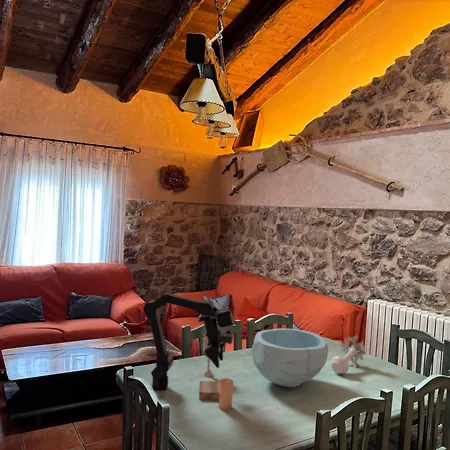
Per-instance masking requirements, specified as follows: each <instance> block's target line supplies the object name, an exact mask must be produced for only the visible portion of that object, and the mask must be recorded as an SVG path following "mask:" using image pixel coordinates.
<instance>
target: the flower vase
mask: <svg viewBox="0 0 450 450" xmlns="http://www.w3.org/2000/svg"><path fill="white" fill-rule="evenodd" d="M358 338H359V336H358V335H357V334H356V335H354V336H353V337H351V336H348V337H347V338H344V341H343V342H344V343H341V344H340V347H341V348H343V349H342V350H341V352H342V353H345V355H343V356H341V355H335V356H333V358H332V359H331V361H330V364H331V369H332V371H333V372H334V373H335V374H339V375H344V374H347V372H348V371H349V368H350V366H351V367H353V368H354V369H357V368H358V367H359V368H363V366H362V365H361V364H360V363H359V362H358V360H360V361H364V356H363V355H367V352H366V351H365V350H366V346H365V345H364V340H361V342H358V343H356V340H357V339H358ZM351 342H352V344H351V345H350V343H351ZM349 361H350V362H349Z"/></svg>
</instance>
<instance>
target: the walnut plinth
mask: <svg viewBox="0 0 450 450" xmlns="http://www.w3.org/2000/svg"><path fill="white" fill-rule="evenodd" d="M198 389H199V391H198V400H213V401H214V400H217V401H219V391H220V381H217V380H215V381H213V380H212V381H209V380H200V381H199V387H198Z"/></svg>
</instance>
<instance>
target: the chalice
mask: <svg viewBox="0 0 450 450" xmlns="http://www.w3.org/2000/svg"><path fill="white" fill-rule="evenodd" d="M201 339H202V351H203V353H204V355H205V352H204V351H205V350H206V348H207V346H208V344H207V343H208V339H207V336H204V337H202V338H201ZM209 346H211V345H209ZM205 357H206V358H207V361H206V367H207V368H206V369H204V372H203V374H202V376H203V377H205V378H206V377H207V378H211V377H213V376H214V374H213V371H212V370H211V369H210V366H211V363H210V362H211V360H210V359H209V358H208V357H207V356H206V355H205Z"/></svg>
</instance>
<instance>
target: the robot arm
mask: <svg viewBox="0 0 450 450" xmlns="http://www.w3.org/2000/svg"><path fill="white" fill-rule="evenodd" d="M166 304H170V305H172V306H174V305H175V306H178V307H182V308H185V309H189V310H192V311H194V312H195V313H197V314H199V315H200V318H199V319H198V322H199V323H201V322H203V326H204V330H205V336H204V337H207V339H208V343H207V344H208V346H207V348H206V350H205V351H203V353H204V352H205V353H204V355H206V356H207V357H208V358H209V359H210V362H211V363H212V364H213V365H214V366H215V368H217V369H219V368H220V361H221V362H222V361H223V360H224V346H225V345H226V344H227V345H228V344H229V345H231V344H232V343H233V341H234V333H232V330H230V329H227V330H226V331H224V332H222V331H221V329H220V328H219V327H221V328H226V327H232V326H235V317H234V315H233V313H232V310H231V309H227V310H224V311H223V310H222V311H220V310H219V308H217V307H216V306H215V303H214V302H213V301H211V300H210V299H209V300H208V299H194V298H188V297H185V296H181V295H178V294H172V293H171V292H166V293H164V294H163V295H162V296H161V297H159V298H158V299H151V300H150V301H148V302H147V303H145V305H144V306H143V312H144V315H145V317H146V319H147V320H148V323H149V325H150V328H151V329H150V330H151V333H152V336H153V337H152V338H153V341H154V347H155V351H156V358H155V363H156V364H155V367H154V368H152V369H153V370H152V371H150V374H151V378H152V381H151V382H152V385H151V389H152V388H153V390H152V391H166V390H167V388H168V386H169V376H168V372H169V370H170V369H171V368H172V366H173V363H174V361H175V359H174V357H173V352H172V351H171V352H169V350H168V349H167V345H166V342H165V337H164V333H163V328H162V323H161V313H162V312H161V307H163V306H164V305H166ZM209 345H211V346H209ZM206 356H205V357H206ZM207 357H206V358H207ZM208 358H207V359H208Z"/></svg>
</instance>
